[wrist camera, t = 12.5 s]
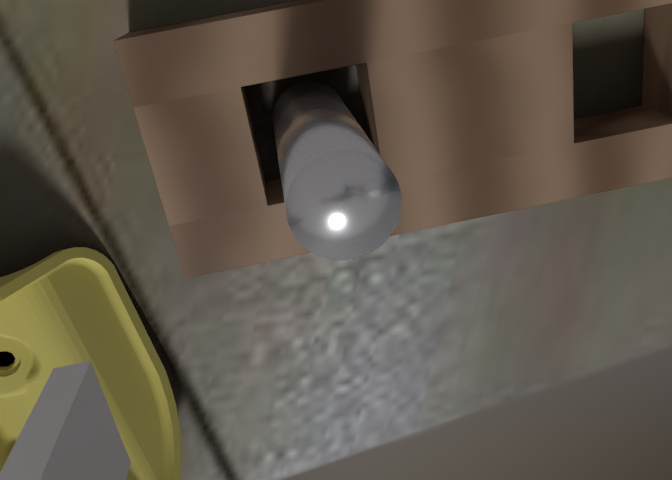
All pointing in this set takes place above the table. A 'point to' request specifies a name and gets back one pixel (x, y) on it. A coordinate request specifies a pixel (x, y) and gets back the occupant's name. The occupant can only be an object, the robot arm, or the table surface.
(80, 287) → the plastic component
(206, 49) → the brown block with holes
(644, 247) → the table surface
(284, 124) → the steel pin
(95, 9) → the table surface
